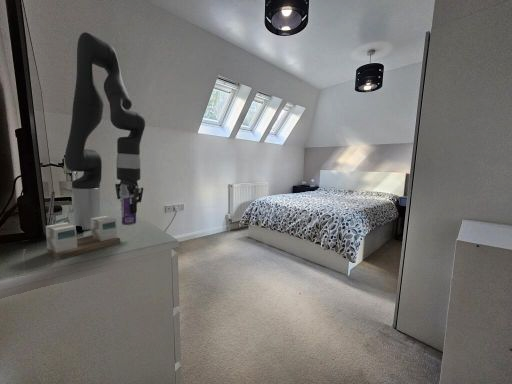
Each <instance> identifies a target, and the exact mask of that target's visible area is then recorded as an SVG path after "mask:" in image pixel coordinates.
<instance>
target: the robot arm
mask: <svg viewBox="0 0 512 384" xmlns="http://www.w3.org/2000/svg"><path fill="white" fill-rule="evenodd" d="M93 65H94V66H97V67H100V68H102V69H104V70H105V71H106V74H107V77H105V79H104V83H103V91H104V94H105V96H106V99H107V101H108V103H109V111H110V112H109V113H110V115H109V117H110V122H111V124H112V125H113V126H114V127H115V128H117V129H118V130H122V131H129V134H128V136H121V137H118V138H117V140H116V147H117V148H116V151H117V153H116V154H117V155H116V179H117V180H119V181H120V183H115V185H114V187H115V191H116V193H115V194H116V199H117V200H119V201H120V203H121V204H120V205H121V207H120V208H121V210H120V211H121V212H122V184H127V185H129V186H127V185H125V190H127V197H128V198H129V201H130V214H135V213H136V214H137V211H138V209H137V208H138V205H137V204H138V203H141V202H142V199H143V192H144V187H143V186H139V183H138V181H140V180H141V155H140V153H141V150H140V149H141V147H140V146H141V142H142V137H143V134H144V131H145V128H146V121H145V118H144V115H143V114H141V113H140V112H137V111H133V110H131V108H132V105H133V103H132V100H131V97H130V95H129V93H128V91H127V88H126V86H125V84H124V80H123V75H122V72H121V67H120V62H119V58H118V56H117V53H116V50H115V48H114V47H113V46H112V45H110V44H109V43H108V42H105V41H104V40H102V39H100V38H99V37H96V36H95V35H92V34H91V33H88V32H85V31H84V32H82V33H80V35H79V37H78V41H77V44H76V79H75V89H74V94H73V95H74V96H73V103H72V112H71V113H72V114H71V123H70V130H69V136H68V140H67V144H66V149H65V153H64V164H65V167H66V169H67V170H69V171H70V172H78V173H79V172H83V174H82V175H81V177H79V178H76V179H74V180H73V181H71V195H72V209H73V211H72V213H73V225H75V226H81V227H82V230H81V231H87V230H91V218H96V217H102V212H101V211H102V209H101V208H102V207H101V205H102V204H101V181H102V169H103V164H102V157H101V155H100V153H99V152H98V151H97V150H94V149H86V148H85V146H86V142H87V140H88V138H89V136H90V135H91V134H92V133H93V132H94V130H95V129H96V128H97V127H98V126H99V125H100V123H101V122H102V119H103V113H104V106H105V105H104V100H103V97H102V95H101V92H100V91H99V89H98V86H97V85H96V82H95V80H94V75H93ZM130 194H134V195H130ZM132 197H133V200H132Z"/></svg>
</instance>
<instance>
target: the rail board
mask: <svg viewBox="0 0 512 384" xmlns="http://www.w3.org/2000/svg"><path fill="white" fill-rule="evenodd" d="M45 233H46V234H45V235H46V236H45V237H46V251H47V254H50V256H53V257H55V258H57V259H59V260H64V259H67V258H71V257H74V256H79V255H81V254H85V253H89V252H93V251H96V250H99V249H102V248H103V249H104V248H107V247H109V246H110V247H111V246H113V245H117V244H120V243H121V238H120V237H118V235H117V234H118V233H117V218H116V217H112V216H108V215H104V216H102V215H101V217H96V218H91V229H90V233H91V234H89V235H86V236H80V237H77V230H76V226H74V224H71V223H68V222H64V223H63V222H61V223H56V224H50V225H45Z"/></svg>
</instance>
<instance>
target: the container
mask: <svg viewBox="0 0 512 384" xmlns="http://www.w3.org/2000/svg"><path fill="white" fill-rule="evenodd" d="M125 185H127V184H122V211H121V225H123V226H132V225H136V224H137V213H135V214H130V201H129V198H128V197H127V190H125ZM127 186H129V185H127ZM130 195H134V194H130ZM132 200H133V197H132Z"/></svg>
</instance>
